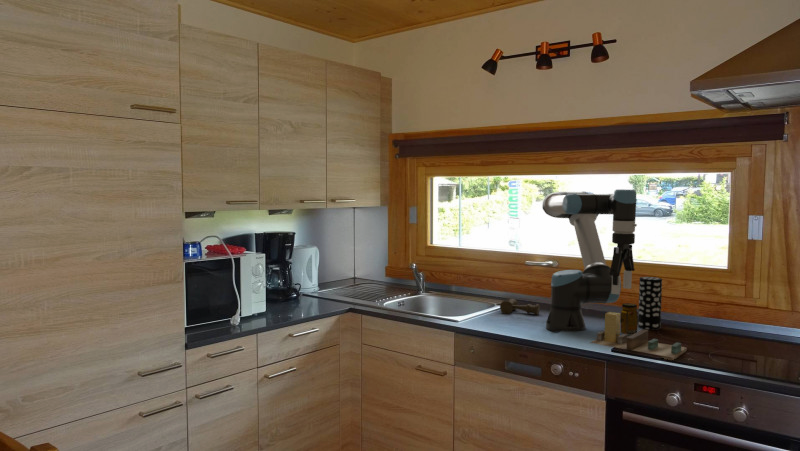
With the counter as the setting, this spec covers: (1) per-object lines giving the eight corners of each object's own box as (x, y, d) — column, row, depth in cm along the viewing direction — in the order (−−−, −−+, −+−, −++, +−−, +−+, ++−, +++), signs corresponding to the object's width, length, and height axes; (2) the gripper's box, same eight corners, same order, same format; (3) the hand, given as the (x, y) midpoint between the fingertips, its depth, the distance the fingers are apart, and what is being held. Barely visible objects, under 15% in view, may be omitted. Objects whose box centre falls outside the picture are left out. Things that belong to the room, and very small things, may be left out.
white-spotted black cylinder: (662, 326, 236) (663, 277, 235) (658, 330, 229) (660, 280, 228) (640, 323, 240) (641, 276, 239) (636, 327, 234) (637, 278, 232)
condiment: (616, 332, 226) (617, 302, 225) (639, 333, 225) (640, 302, 224) (623, 337, 218) (623, 306, 218) (645, 337, 218) (646, 306, 217)
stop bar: (604, 340, 209) (605, 313, 209) (608, 338, 212) (609, 311, 212) (615, 342, 207) (616, 315, 206) (619, 340, 210) (620, 313, 209)
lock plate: (589, 345, 207) (589, 331, 206) (606, 336, 219) (607, 323, 219) (673, 360, 189) (673, 345, 188) (686, 350, 201) (687, 336, 200)
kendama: (535, 318, 253) (492, 312, 262) (541, 314, 261) (499, 309, 271) (536, 304, 253) (492, 299, 262) (542, 301, 261) (499, 296, 270)
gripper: (623, 235, 195) (621, 297, 197) (644, 230, 215) (642, 287, 216) (601, 234, 200) (599, 295, 201) (623, 229, 219) (621, 285, 221)
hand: (621, 291), depth 209 cm, fingers open, 13 cm apart
